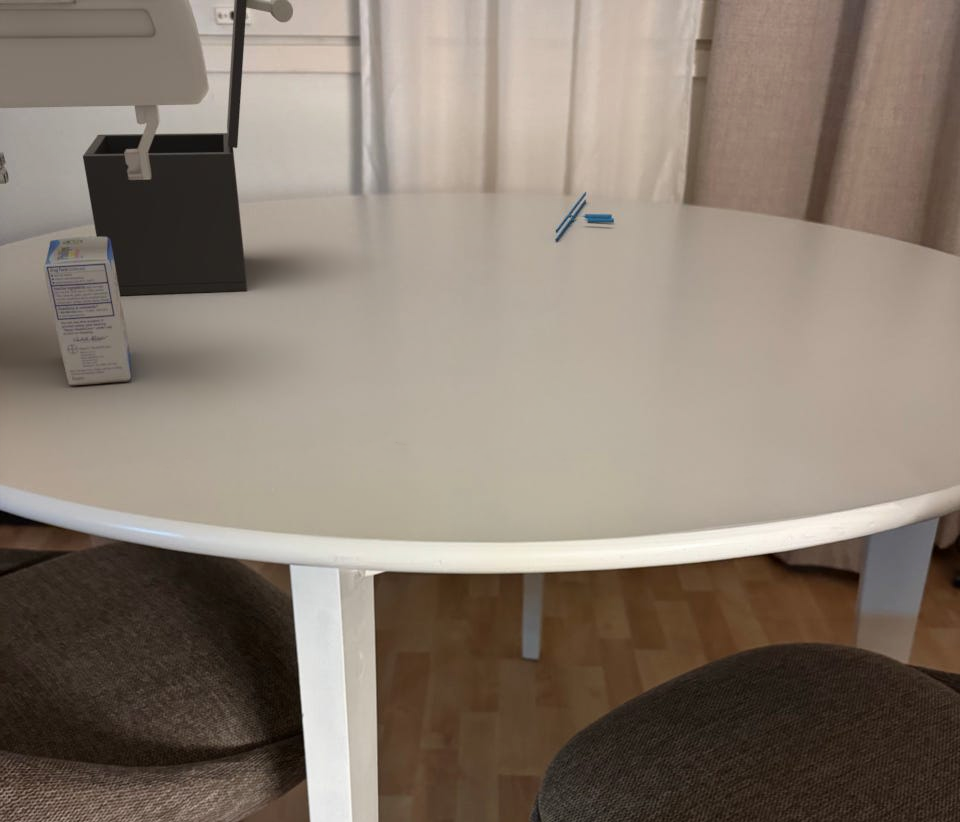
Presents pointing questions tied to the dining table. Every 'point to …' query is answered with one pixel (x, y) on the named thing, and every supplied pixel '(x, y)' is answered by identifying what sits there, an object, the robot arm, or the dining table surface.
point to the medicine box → (87, 310)
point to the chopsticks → (591, 217)
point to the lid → (280, 12)
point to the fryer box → (169, 213)
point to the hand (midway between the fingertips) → (69, 180)
